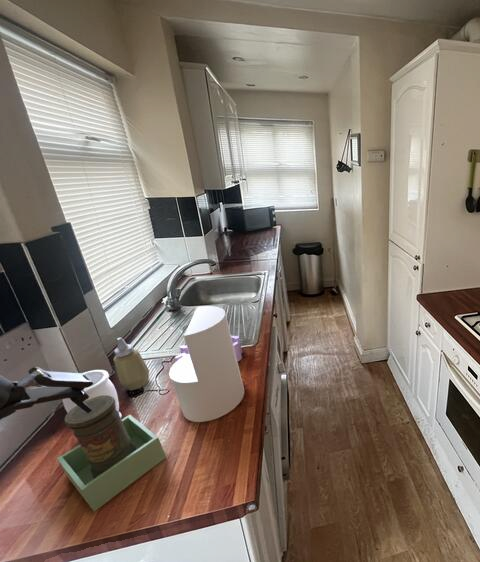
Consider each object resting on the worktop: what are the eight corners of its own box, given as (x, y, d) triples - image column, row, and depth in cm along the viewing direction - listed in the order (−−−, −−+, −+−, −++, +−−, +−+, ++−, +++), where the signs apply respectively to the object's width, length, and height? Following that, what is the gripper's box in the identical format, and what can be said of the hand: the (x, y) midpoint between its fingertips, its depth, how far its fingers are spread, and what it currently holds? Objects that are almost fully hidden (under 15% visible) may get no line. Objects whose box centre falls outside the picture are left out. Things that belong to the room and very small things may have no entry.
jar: (135, 413, 90) (117, 372, 85) (97, 442, 81) (75, 398, 75) (108, 406, 93) (90, 366, 87) (69, 434, 84) (45, 391, 78)
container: (103, 456, 76) (74, 400, 70) (145, 444, 79) (121, 389, 72) (86, 490, 69) (51, 430, 62) (133, 475, 71) (105, 417, 65)
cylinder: (245, 375, 105) (228, 302, 94) (242, 412, 89) (221, 329, 79) (189, 388, 100) (164, 311, 89) (175, 429, 84) (143, 343, 74)
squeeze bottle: (151, 387, 101) (133, 340, 94) (120, 396, 97) (99, 348, 90) (153, 373, 107) (136, 329, 101) (125, 381, 104) (105, 336, 97)
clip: (243, 346, 121) (239, 331, 118) (241, 365, 110) (237, 348, 107) (186, 358, 115) (181, 342, 112) (178, 378, 104) (172, 362, 102)
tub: (68, 478, 72) (56, 458, 69) (138, 433, 84) (129, 414, 81) (94, 511, 65) (81, 490, 62) (166, 457, 76) (158, 437, 74)
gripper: (-213, 509, 30) (-52, 524, 46) (84, 346, 47) (129, 397, 62) (-237, 456, 32) (-74, 487, 47) (57, 317, 48) (107, 374, 64)
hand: (41, 436), depth 55 cm, fingers open, 13 cm apart
